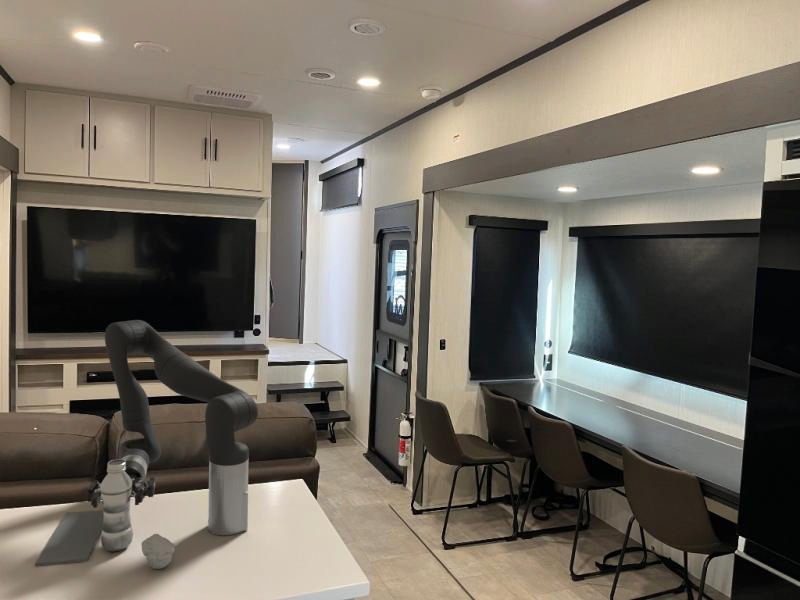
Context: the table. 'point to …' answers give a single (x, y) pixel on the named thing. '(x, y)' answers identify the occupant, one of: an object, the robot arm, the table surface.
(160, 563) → the grey cupcake
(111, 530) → the plastic bottle
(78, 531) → the charcoal rubber mat
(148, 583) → the table surface
